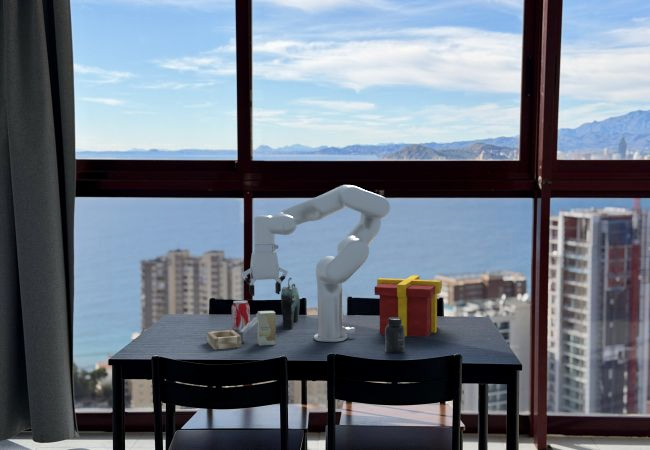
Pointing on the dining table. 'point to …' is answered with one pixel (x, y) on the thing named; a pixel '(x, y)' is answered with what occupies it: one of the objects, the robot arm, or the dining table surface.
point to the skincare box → (266, 328)
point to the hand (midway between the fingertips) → (265, 294)
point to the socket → (223, 339)
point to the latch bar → (250, 324)
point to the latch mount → (240, 334)
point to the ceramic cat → (290, 305)
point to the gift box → (409, 304)
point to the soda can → (240, 314)
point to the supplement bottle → (394, 336)
